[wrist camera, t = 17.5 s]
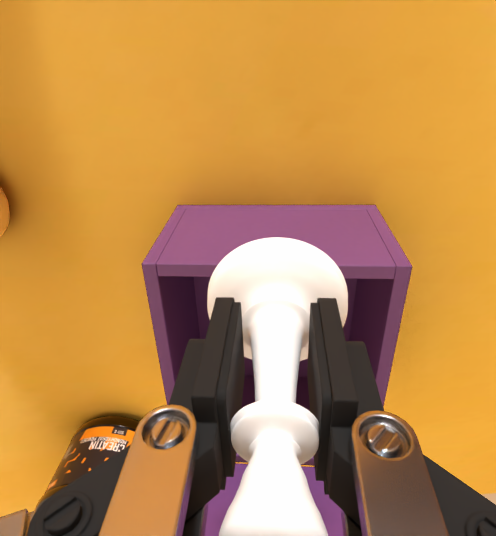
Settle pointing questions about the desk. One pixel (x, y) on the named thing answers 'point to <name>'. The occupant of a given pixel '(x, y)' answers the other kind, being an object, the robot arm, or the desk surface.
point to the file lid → (225, 497)
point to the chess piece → (275, 381)
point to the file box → (267, 226)
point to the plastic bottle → (4, 212)
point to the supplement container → (91, 449)
